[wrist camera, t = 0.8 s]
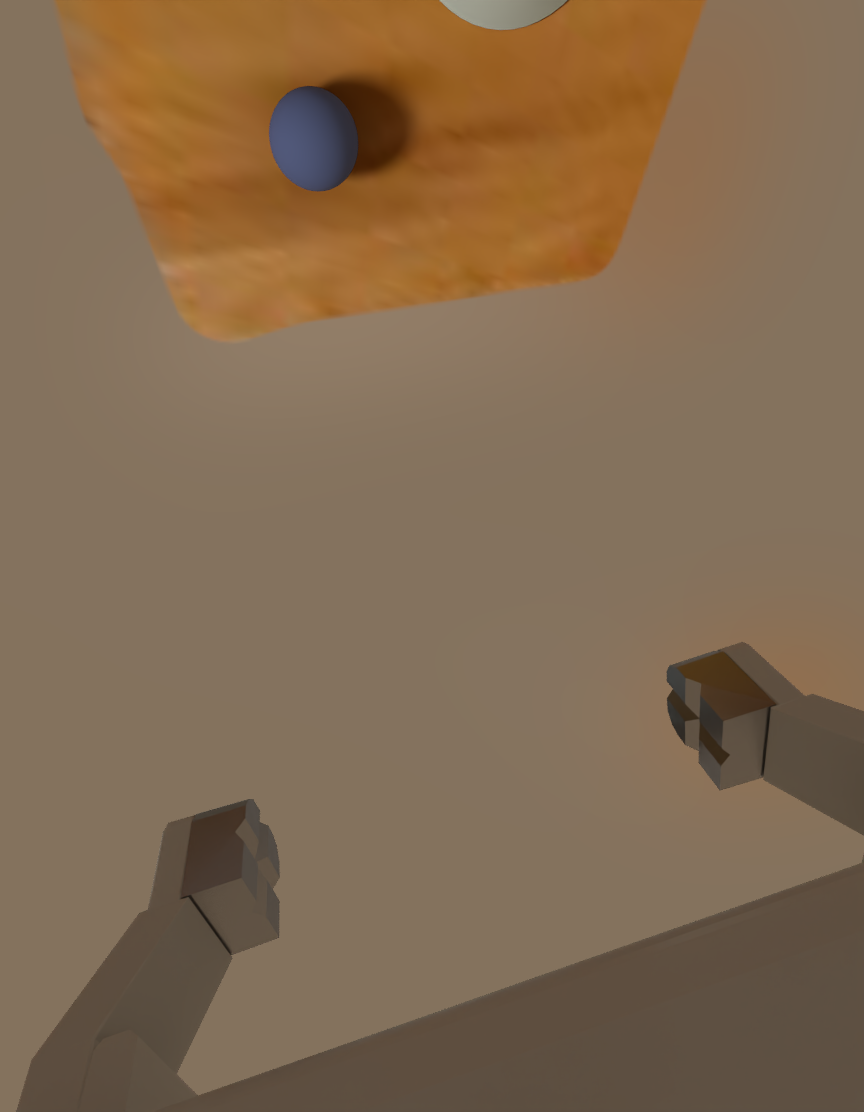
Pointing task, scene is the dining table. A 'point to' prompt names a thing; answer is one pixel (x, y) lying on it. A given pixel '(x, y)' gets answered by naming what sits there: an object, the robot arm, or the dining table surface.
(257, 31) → the dining table surface
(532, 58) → the dining table surface
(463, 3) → the disc
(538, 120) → the dining table surface
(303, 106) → the ball
